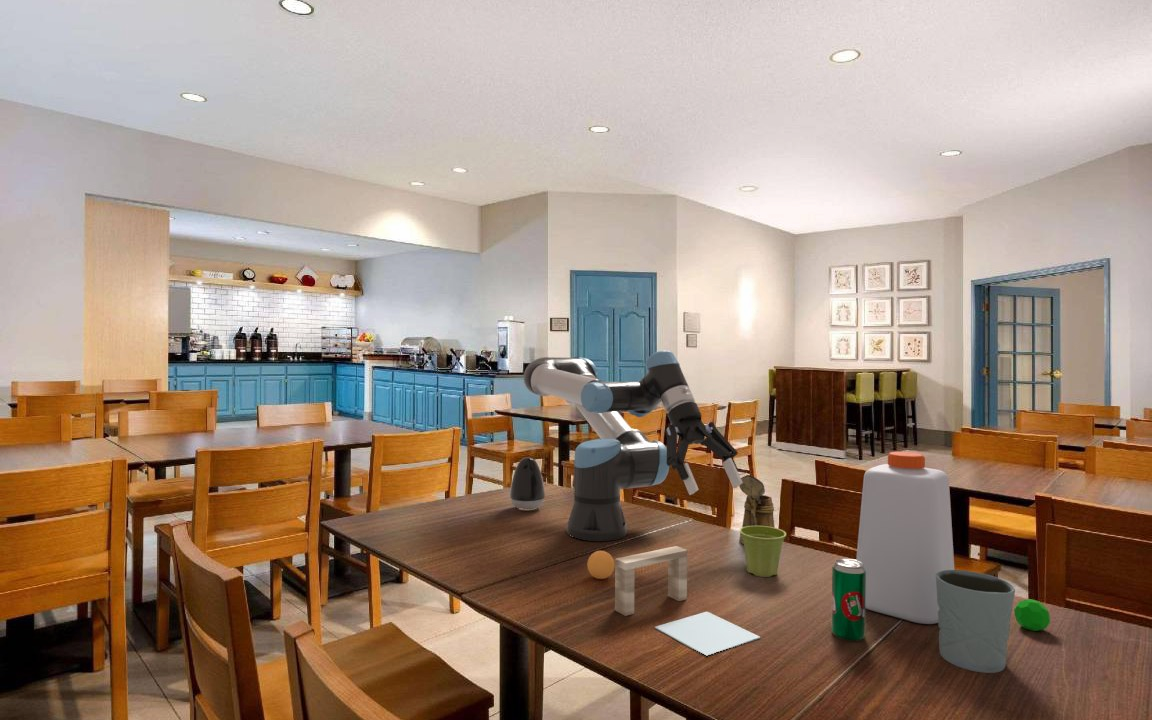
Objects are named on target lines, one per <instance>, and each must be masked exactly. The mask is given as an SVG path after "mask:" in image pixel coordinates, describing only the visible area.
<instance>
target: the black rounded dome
mask: <svg viewBox="0 0 1152 720" xmlns="http://www.w3.org/2000/svg"><path fill="white" fill-rule="evenodd" d="M542 475H543V474H542V472H541V468H540V467H539V464H538V463H537V461H536V460H535V459H534V458H532V457H523V458H521V460H519V461H518V463H517V464H516V467H515V470H514V473H513V476H512V480H511V484H510V485H511V486H510V489H509V491H510V492H509V498H510V501H511V504H512V506H513V505H514V506H515V507H518V508H523V509H534V508H538V507H539V508H541V506H542V504H543V503H544V498H545V497H546V491H545V484H544V483H545V482H544V480H543V476H542ZM515 507H514V508H515ZM539 508H538V509H539Z"/></svg>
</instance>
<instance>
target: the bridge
mask: <svg viewBox="0 0 1152 720" xmlns="http://www.w3.org/2000/svg"><path fill="white" fill-rule="evenodd" d="M664 562H668V563H667V564H668V565H667V569H668V570H667V571H668V572H667V573H668V574H667V597H669V598H671V599H674V600H676V601H678V602H681V601H685V600H687V598H688V549H685V548H683V547H681V546H678V545H674V546H670V547H665V548H660V549H655V550H652V551H647V552H641V553H635V554H631V555H627V556H622V557H617V558H615V560H614V569H615V570H614V579H615V580H614V611H616V612H617V613H619V614H621V615H623V616H625V617H627V616H630V615H634V614H635V582H636V581H635V573H636V571H635V569H637V568H642V567H646V566H650V565H654V564H655V565H656V564H659V563H660V564H661V563H664Z"/></svg>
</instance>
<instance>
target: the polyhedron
mask: <svg viewBox="0 0 1152 720" xmlns="http://www.w3.org/2000/svg"><path fill="white" fill-rule="evenodd" d="M1013 610H1014V617H1015V620H1016V622H1017V623H1018V624H1019V625H1020V626H1021V627H1023V628H1024V629H1025V630H1028V631H1032V632H1036V631H1037V632H1038V631H1041V630H1045V629H1047V628H1048V626H1049V624H1050V623H1051V618H1050V611H1049V609H1048V608H1047V606H1045V605H1044V604H1043V603H1041V602H1040V601H1038V600H1036V599H1031V598H1027V599H1023V600H1020V601H1018V602H1017V604H1016V605H1015V607H1014V609H1013Z"/></svg>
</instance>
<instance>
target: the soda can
mask: <svg viewBox="0 0 1152 720" xmlns="http://www.w3.org/2000/svg"><path fill="white" fill-rule="evenodd" d="M863 566H864V565H863V563H861V562H859V561H856V559H852V558H837V559H835V560H834V564H833V565H832V566H831V568H832V569H831V570H832V572H831V623H830V626H831V628H830V629H831V632H832V633H833V635H834V636H835V637H836V638H838V639H841V640H843V641H849V642H859V641H862V639H864V638H865V637H866V608H865V601H866V571H865V569H864V567H863Z"/></svg>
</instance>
